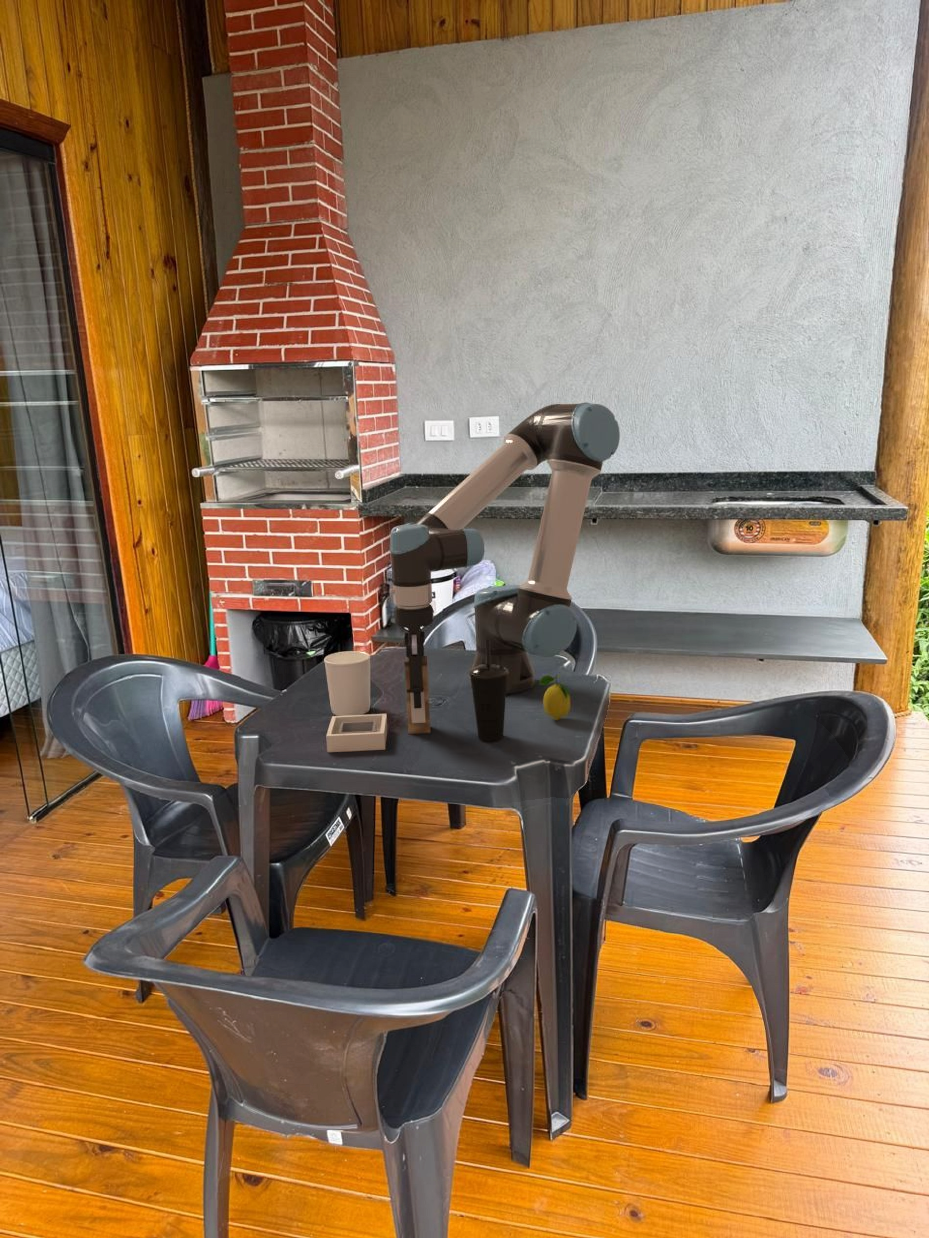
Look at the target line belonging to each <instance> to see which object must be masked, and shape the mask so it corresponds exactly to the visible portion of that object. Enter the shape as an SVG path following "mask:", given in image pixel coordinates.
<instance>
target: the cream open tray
mask: <svg viewBox="0 0 929 1238" xmlns="http://www.w3.org/2000/svg"><path fill="white" fill-rule="evenodd" d="M388 728H389V727H388V716H387V713H371V714H369V713H368V714H362V715H348V716H337V715H335V716H334V715H333V716H331V719H330V722H329V726H328V729H327V733H326V734H325V735H326V736H325V737H326V740H325V741H326V751H327V753H337V752H338V753H342V752H360V751H382V750H386V746H387V745H386V744H387V736H388Z"/></svg>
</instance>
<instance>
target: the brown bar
mask: <svg viewBox="0 0 929 1238" xmlns="http://www.w3.org/2000/svg"><path fill="white" fill-rule="evenodd" d="M403 663H404V678H405V698H406V713H407V715H406V716H407V731H408V733H407V734H413V735H414V734H431V713H430V693H429V692H430V691H429V688H430V687H429V671H428V670H429V669H428V656H427V655H424V656H423V657H422V676H423V687H424V701H425V721H426V722H425V723H412V716H411V698H410V693H407V689H410V673H409V658H408V657H407V656H405V657H404V661H403Z"/></svg>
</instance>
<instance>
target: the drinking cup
mask: <svg viewBox="0 0 929 1238" xmlns="http://www.w3.org/2000/svg"><path fill="white" fill-rule="evenodd" d="M486 663H487V664H482V665H479V666H477V667H474V668H472V667H471V668H470V669H469V670H468V675H469V678H470V677H471V684H472V688H471V690H472V698H473V707H474V713H475V722H476V728H477V734H478V735H477V737H478V739H479V741H482V742H486V743H494V742H499V741H502V740H503V738H504V729H505V728H504V727H505V726H504V725H505V712H506V696H507V694H506V682H507V675H508V669H507V668H505V667H502V666H499V665H496V664H490V647H489V639H486Z"/></svg>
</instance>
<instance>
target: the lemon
mask: <svg viewBox="0 0 929 1238" xmlns="http://www.w3.org/2000/svg"><path fill="white" fill-rule="evenodd" d="M554 682H555V684H553V685H551V686H549V687H548V688H547V690H546V691H545V693H544V695H543V699H542V704H543V710H544V711H545V713H546V714H547V715H548V716H549V717H552V718H553V719H554V720H555V721H559V720H560V719H561V718H563V717H565V716H567V714H568V713H569V712H570V710H571V700H572V697H571V694H570V692H569V691H568V689H567V688H566V687H565V686H564V684H562V683H559V682H558V673H556V674H555V677H552V676H551V675H544V676H542V677H541V678H540V680H539V682H538V685H540V686H545V685H549V684H552V683H554Z"/></svg>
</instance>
